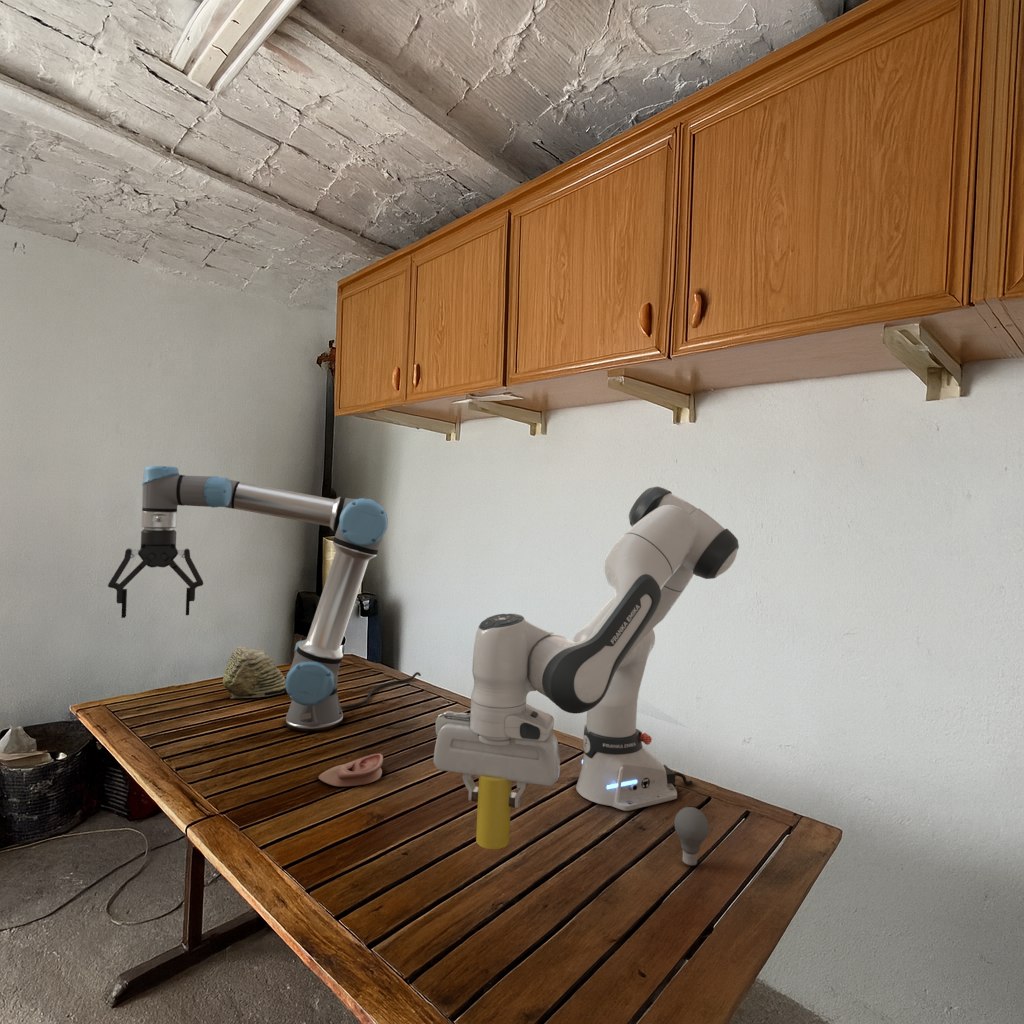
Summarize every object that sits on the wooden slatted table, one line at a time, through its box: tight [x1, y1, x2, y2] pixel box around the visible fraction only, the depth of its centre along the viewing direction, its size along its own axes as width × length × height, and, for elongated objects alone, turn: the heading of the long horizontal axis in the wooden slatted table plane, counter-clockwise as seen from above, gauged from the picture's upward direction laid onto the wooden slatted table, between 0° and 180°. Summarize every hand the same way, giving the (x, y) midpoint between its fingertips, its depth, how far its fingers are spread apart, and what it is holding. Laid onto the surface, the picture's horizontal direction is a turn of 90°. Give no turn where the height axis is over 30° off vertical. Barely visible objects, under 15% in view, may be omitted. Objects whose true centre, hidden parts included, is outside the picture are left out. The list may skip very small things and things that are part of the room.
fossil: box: [222, 646, 286, 699], centre depth 198 cm, size 9×18×15 cm, turn 132°
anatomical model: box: [318, 753, 384, 787], centre depth 144 cm, size 13×4×12 cm
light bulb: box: [673, 806, 710, 866], centre depth 114 cm, size 6×6×10 cm
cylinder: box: [475, 776, 513, 850], centre depth 101 cm, size 5×5×11 cm
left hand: (156, 615), depth 155 cm, fingers open, 13 cm apart
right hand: (494, 803), depth 101 cm, fingers closed on cylinder, 5 cm apart
